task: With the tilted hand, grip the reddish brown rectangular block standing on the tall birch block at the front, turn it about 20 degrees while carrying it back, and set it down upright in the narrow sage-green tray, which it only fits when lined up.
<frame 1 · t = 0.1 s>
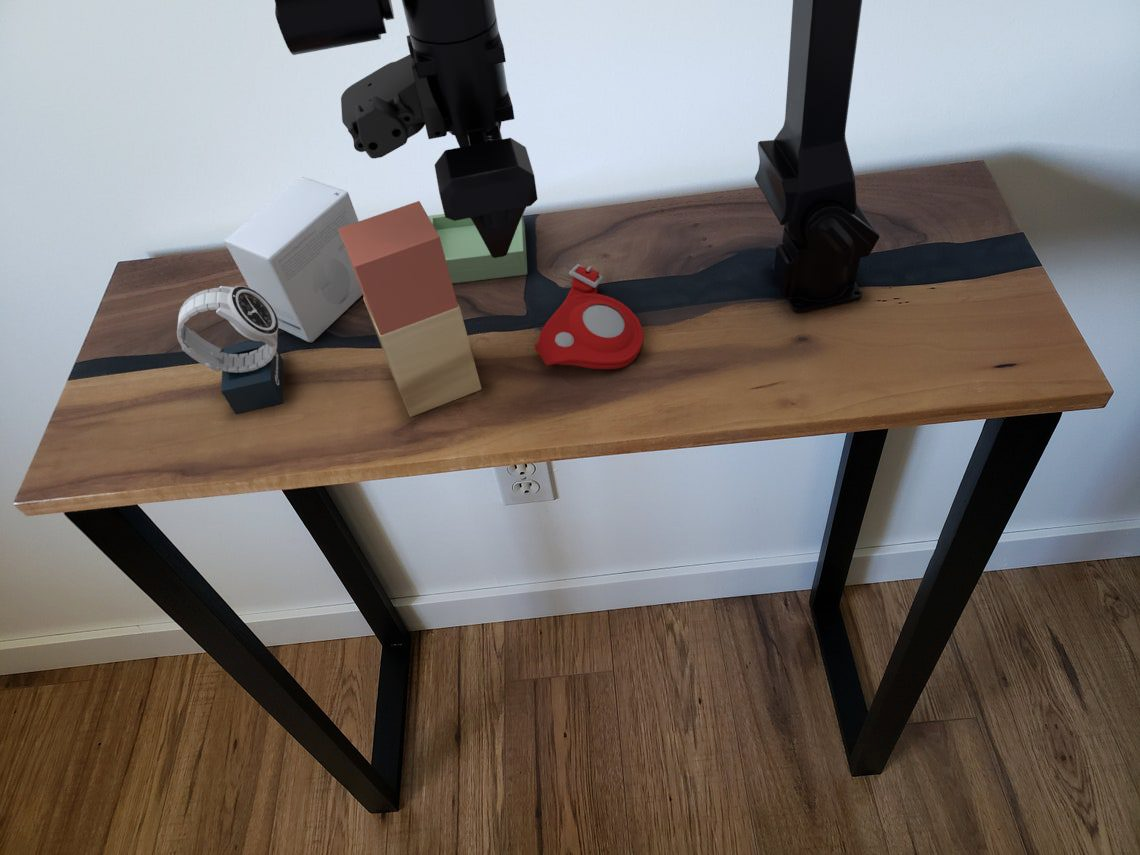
hand: (490, 219, 68), 15 cm above the table, tool pointing down, fingers open, 9 cm apart
tray: (479, 256, 88), on the table
tracker holder: (594, 332, 80), on the table
cosmetics box: (324, 301, 86), on the table
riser: (437, 384, 77), on the table
watch: (261, 387, 79), on the table
reddish brown rectangular block: (410, 301, 70), point 10 cm above the table, touching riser
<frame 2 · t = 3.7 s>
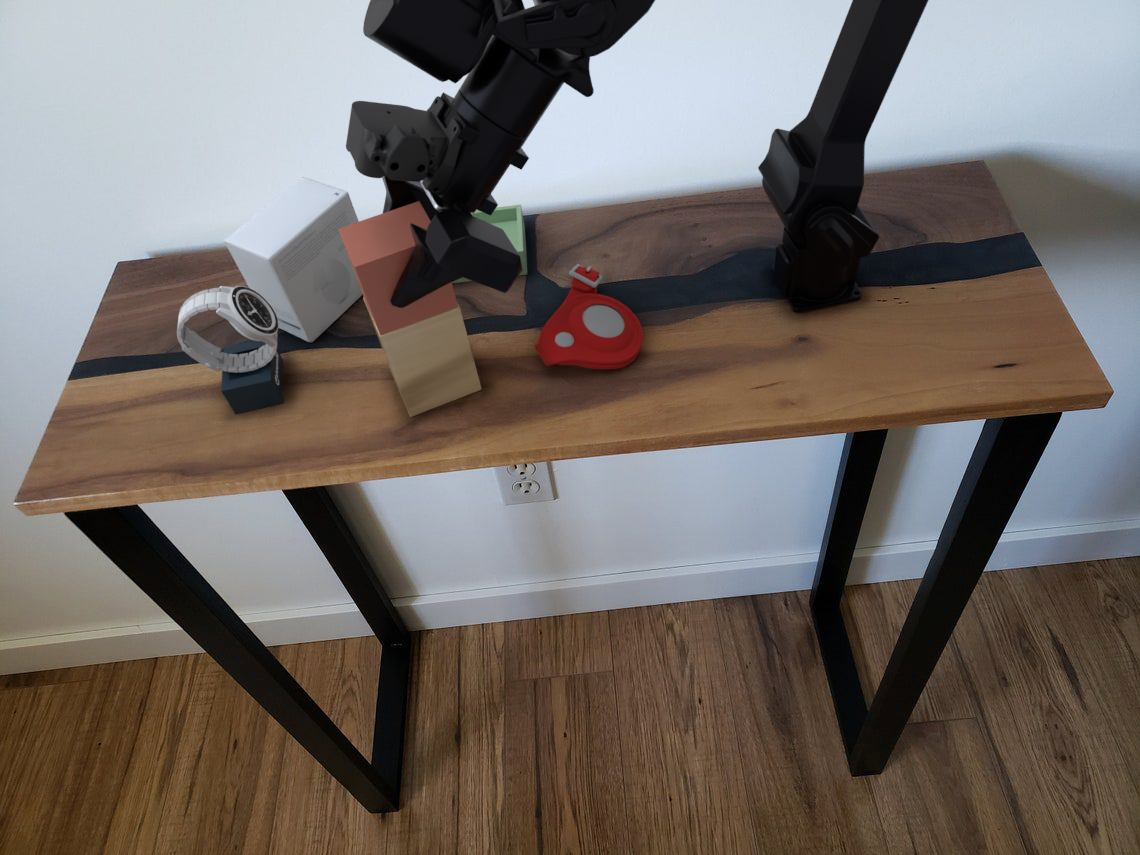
hand: (386, 284, 67), 12 cm above the table, tool tilted 45°, fingers closed on reddish brown rectangular block, 5 cm apart
reddish brown rectangular block: (410, 302, 70), point 10 cm above the table, touching gripper, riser
everything else where it was.
when the fingers open (4 cm above the table, at t = 10.6 s): reddish brown rectangular block stays where it is, resting on tray.
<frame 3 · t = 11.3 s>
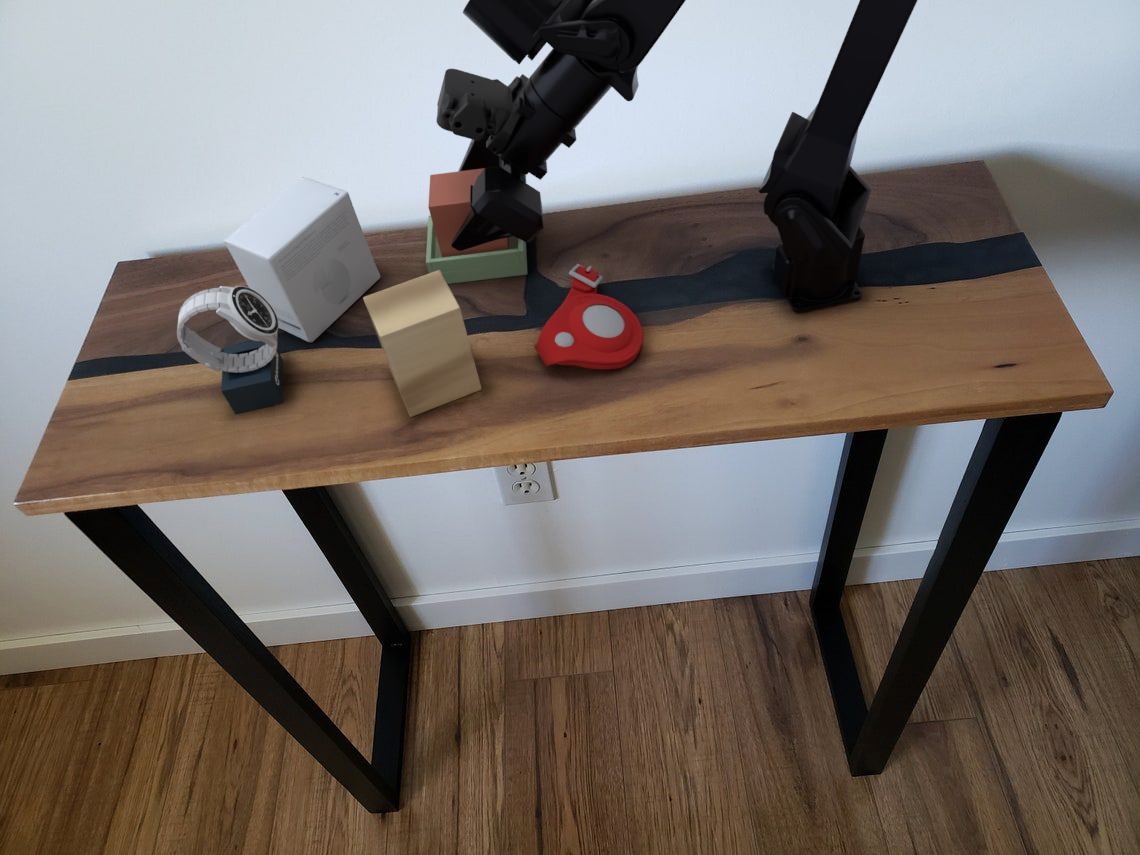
hand: (455, 217, 84), 5 cm above the table, tool tilted 45°, fingers open, 9 cm apart
reddish brown rectangular block: (476, 244, 87), point 1 cm above the table, touching tray
everything else where it was.
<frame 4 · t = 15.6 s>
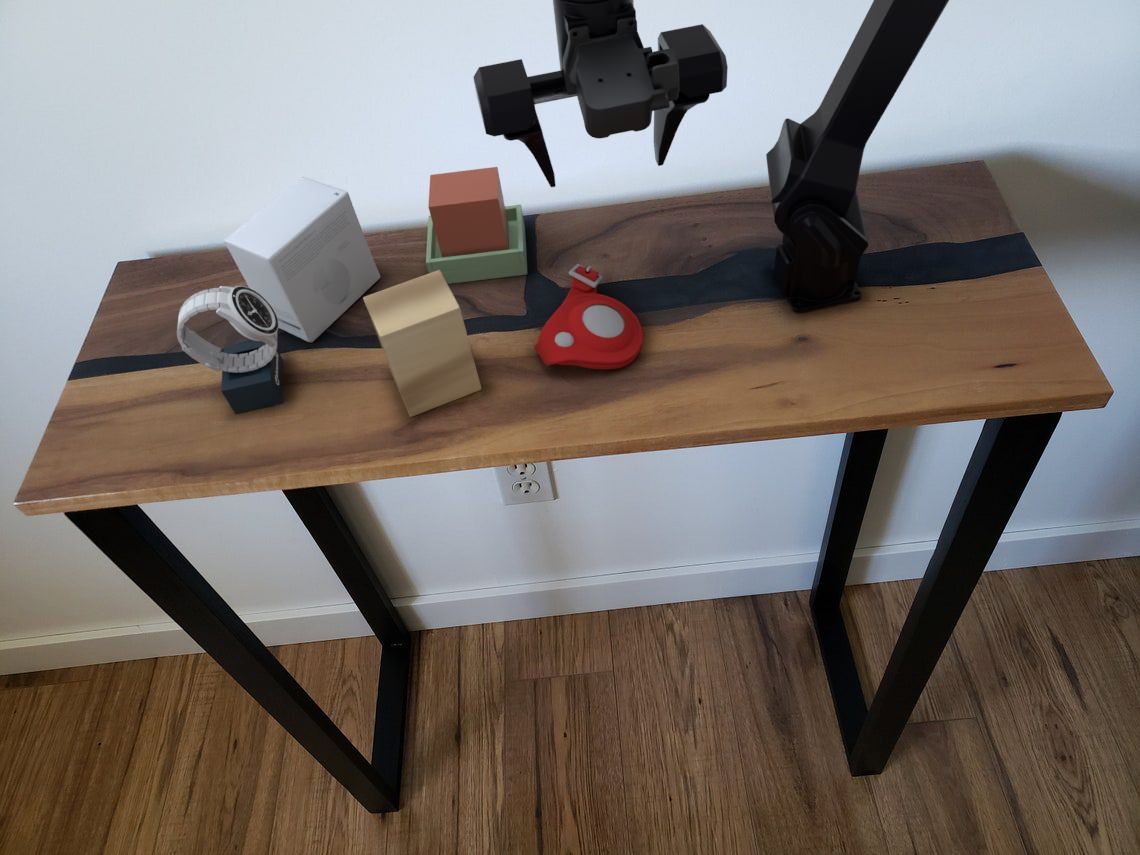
hand: (605, 173, 73), 13 cm above the table, tool pointing down, fingers open, 9 cm apart
nothing on the table moved.
at the end: reddish brown rectangular block 0.0 cm off-centre in the tray, point 1.5 cm above the tray's base; reddish brown rectangular block tilted 0°; reddish brown rectangular block moved 19.2 cm from its start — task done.
